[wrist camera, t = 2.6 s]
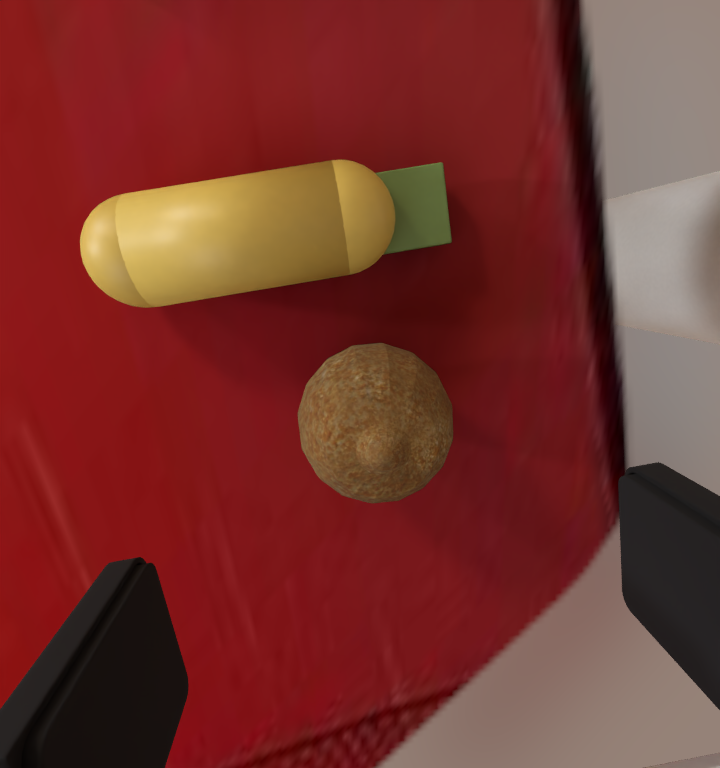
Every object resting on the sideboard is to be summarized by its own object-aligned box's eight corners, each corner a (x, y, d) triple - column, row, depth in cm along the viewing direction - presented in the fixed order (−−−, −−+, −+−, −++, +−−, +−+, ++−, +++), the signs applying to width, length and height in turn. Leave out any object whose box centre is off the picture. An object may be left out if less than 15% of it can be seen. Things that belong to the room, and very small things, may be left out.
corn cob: (432, 156, 21) (458, 127, 17) (444, 258, 22) (471, 255, 18) (98, 210, 21) (39, 194, 17) (126, 311, 22) (76, 321, 18)
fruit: (286, 352, 23) (263, 395, 15) (413, 315, 23) (455, 338, 15) (324, 470, 24) (321, 564, 17) (444, 435, 24) (497, 513, 17)
